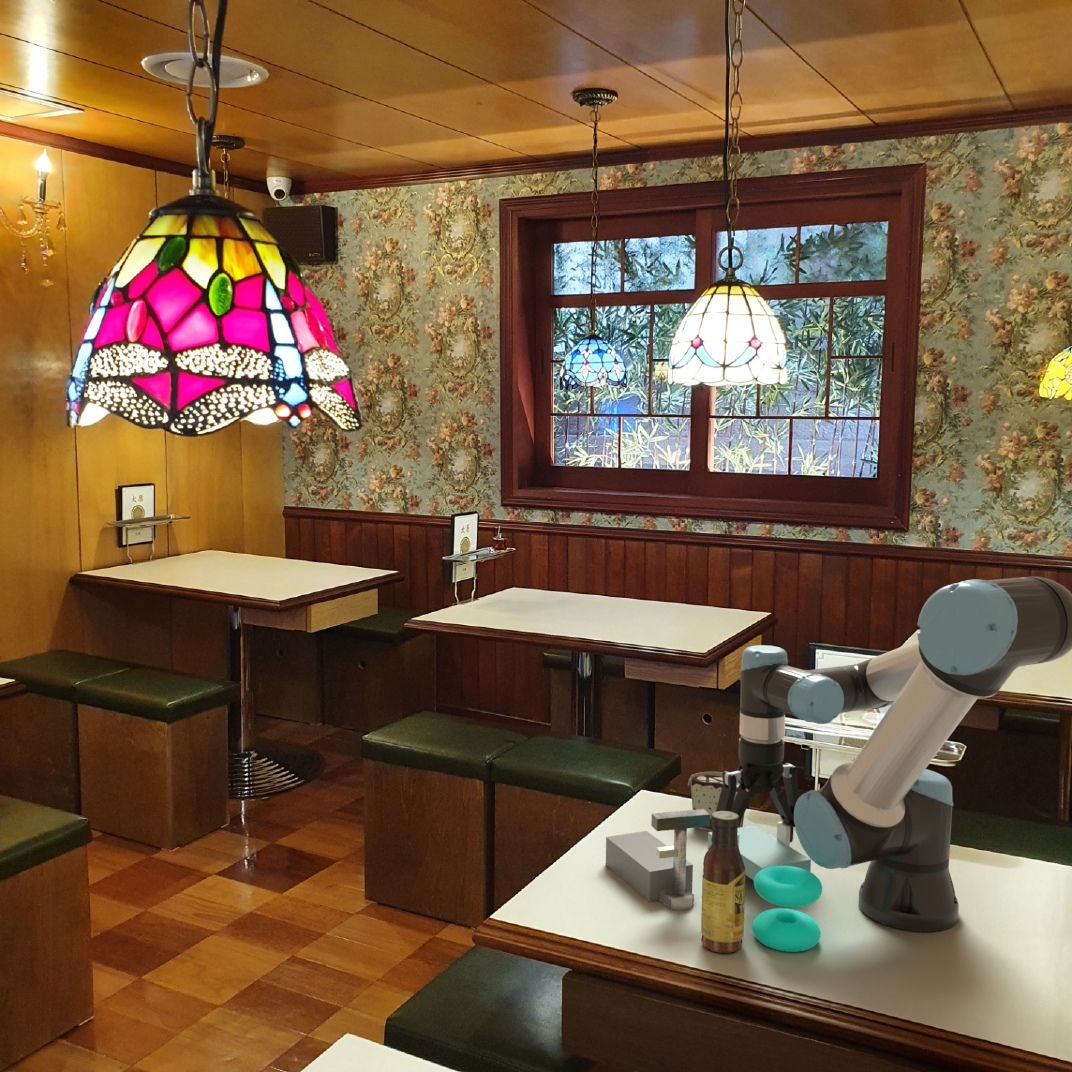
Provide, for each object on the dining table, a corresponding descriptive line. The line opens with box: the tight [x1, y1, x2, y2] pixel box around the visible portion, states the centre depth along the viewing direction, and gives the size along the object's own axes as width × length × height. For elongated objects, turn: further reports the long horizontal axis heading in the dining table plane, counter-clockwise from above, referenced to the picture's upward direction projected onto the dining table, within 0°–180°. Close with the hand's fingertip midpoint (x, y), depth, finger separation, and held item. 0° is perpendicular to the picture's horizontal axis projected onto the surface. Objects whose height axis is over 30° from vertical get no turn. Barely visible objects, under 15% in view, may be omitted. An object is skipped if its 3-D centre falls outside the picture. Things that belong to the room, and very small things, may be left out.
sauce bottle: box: [700, 811, 746, 954], centre depth 161 cm, size 6×6×20 cm
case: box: [605, 830, 695, 911], centre depth 183 cm, size 21×8×5 cm, turn 23°
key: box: [650, 809, 710, 895], centre depth 175 cm, size 9×2×13 cm, turn 105°
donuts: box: [751, 865, 823, 953], centre depth 164 cm, size 10×10×10 cm
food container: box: [687, 771, 749, 832], centre depth 209 cm, size 12×6×10 cm, turn 58°
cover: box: [707, 825, 812, 881], centre depth 187 cm, size 17×10×3 cm, turn 23°
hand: (757, 864), depth 187 cm, fingers closed on cover, 9 cm apart
